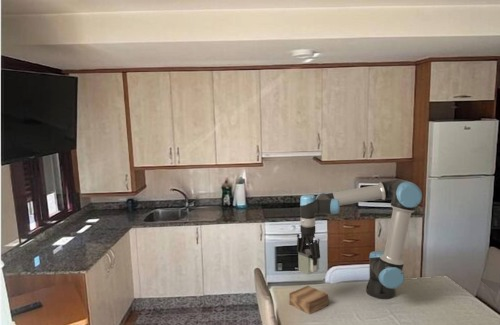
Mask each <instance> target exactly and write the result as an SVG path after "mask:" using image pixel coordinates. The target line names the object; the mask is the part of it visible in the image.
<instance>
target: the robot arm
mask: <svg viewBox="0 0 500 325" xmlns="http://www.w3.org/2000/svg"><path fill="white" fill-rule="evenodd" d="M380 199H381V200H383V201H386V200H391V202H390V207H391V208H392V212H391V218H390V222H389V227H388V233H387V237H386V242H385V247H384V250H375V251H374V250H373V251H371V252H370V253H369V257H368V259H369V279H368V281H367V284H366V287H365V289H366V290H365V291H366V294H367V295H368V296H369V297H370V296H371V297H373V298H376V299H382V300H388V299H389V300H390V299H392V298H394V297H396V289H397V288H399V287H401V286H402V285H403V283H404V281H405V275H404V272H403V270H404V269H403V268H404V264H405V262H404V260H402V258H403V253H404V248H405V244H406V238H407V234H408V230H409V224H410V221H411V216H412V213H414V212H415V211H416V209H417V206H418V205H420V203H421V201H422V199H423V194H422V190H421V188H420V187H419V186H418V185H417V184H416V183H414V182H412V181H408V180H405V179H402V178H394V179H391V180H390V179H389V180H386V181H380V182H378V184H375V185H368V186H363V187H357V188H353V189H352V188H351V189H345V190H341V191H335V192H331V193H324V192H323V193H322V192H321V193H319V194H317V196H315V195H314V194H303V195H301V196H300V202H299V203H300V204H299V206H300V208H299V210H300V211H299V212H300V213H299V214H300V233H299V234H296V237H297V238H296V239H297V240H296V241H297V242H296V253H297V254H298V252H299V251H303V250H305V249H307V248H306V246H308V247H309V249H310V251H311V254H312V258H313V259H311V272H314V271H316V265H317V259H318V260H319V259H321V252H320V238H316V236H315V234H316V215H334V214H337V215H338V214H339V213H340V209H341V208H340V206H341V207H342V206H344V205H345V206H346V205H351V204H357V203H363V202H368V201H375V200H380ZM314 256H315V257H314ZM314 273H315V272H314Z"/></svg>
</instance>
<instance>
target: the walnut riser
mask: <svg viewBox="0 0 500 325" xmlns="http://www.w3.org/2000/svg"><path fill="white" fill-rule="evenodd" d="M289 305H291V306H293V307H294V308H296V309H298V310H300V311H302V312H303V313H306V314H308V315H310V314H313V313H315V312H317V311H320V310H321V309H323V308H326V307H328V306H329V294H328V293H326V292H324V291H323V290H322V291H321V290H319V289H317V288H315V287H312V286H309V285H306V286H303V287H300V288H299V289H296V290H293V291H292V292H289Z"/></svg>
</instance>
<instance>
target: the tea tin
mask: <svg viewBox="0 0 500 325" xmlns="http://www.w3.org/2000/svg"><path fill="white" fill-rule="evenodd" d="M297 254H298V256H297V258H298V261H297V263H298V271H299V272H302V273H304V274H306V275H312V274H314V273H317V272H318V271H319V259H317V265H316V271H314V272H311V259H313V258H312V254H311V251H310V248H305V250H303V251H299V252H298V253H297ZM314 257H315V256H314Z"/></svg>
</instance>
